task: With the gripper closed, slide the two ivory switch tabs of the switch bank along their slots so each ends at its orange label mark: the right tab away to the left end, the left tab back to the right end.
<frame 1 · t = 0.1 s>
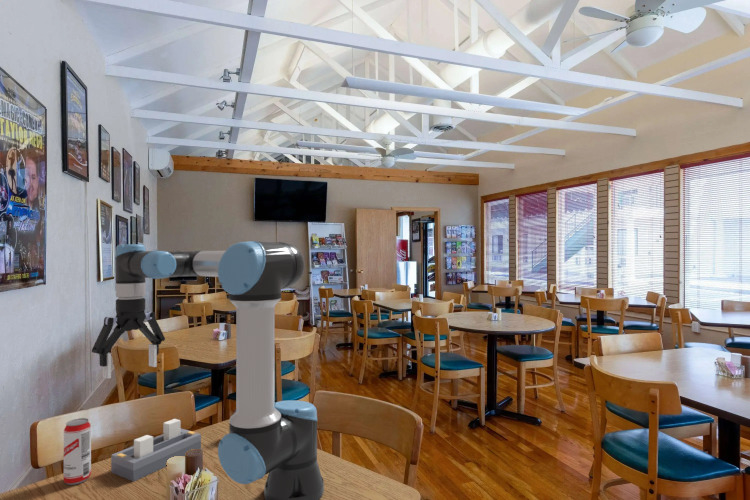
hand: (130, 371, 128), 28 cm above the table, tool pointing down, fingers open, 13 cm apart
tab A: (143, 448, 126), point 6 cm above the table, slide at 6.0 cm
tab B: (172, 431, 139), point 6 cm above the table, slide at -6.0 cm
switch bank: (158, 460, 133), on the table
beer can: (77, 480, 121), on the table
supplement bottle: (243, 437, 150), on the table
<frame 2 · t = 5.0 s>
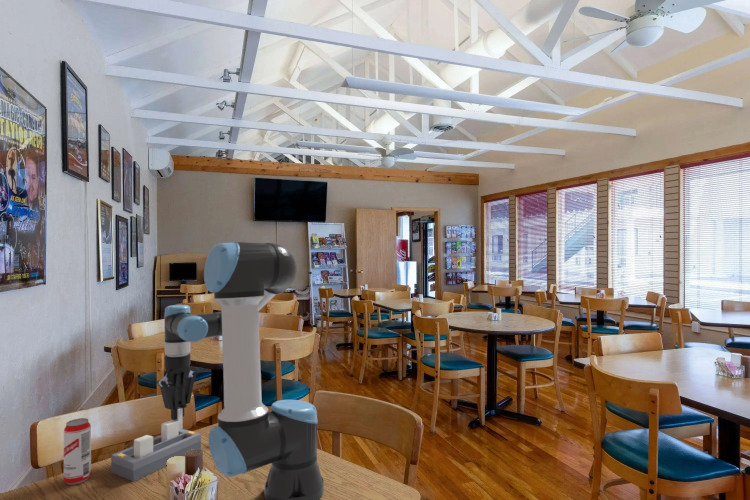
hand: (177, 428, 141), 6 cm above the table, tool pointing down, fingers closed
tab B: (170, 431, 138), point 6 cm above the table, slide at -5.3 cm, touching gripper
everything else where it was.
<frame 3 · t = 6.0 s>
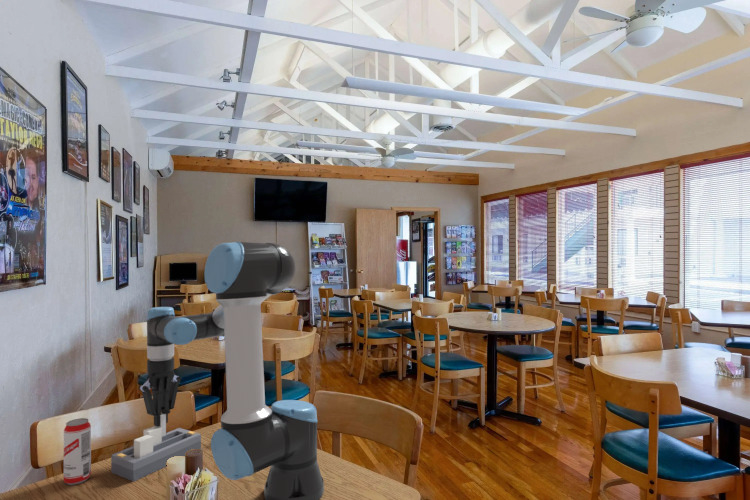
hand: (160, 435, 136), 6 cm above the table, tool pointing down, fingers closed
tab B: (152, 438, 133), point 6 cm above the table, slide at 0.6 cm, touching gripper
everything else where it was.
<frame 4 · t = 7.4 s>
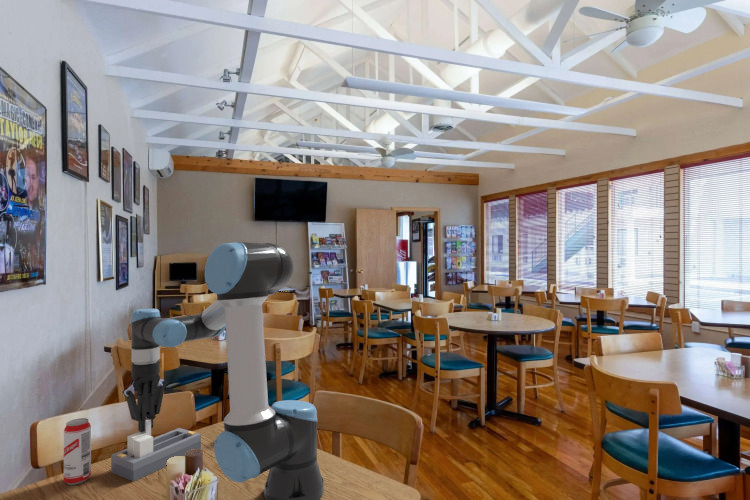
hand: (145, 441, 131), 6 cm above the table, tool pointing down, fingers closed
tab B: (137, 445, 129), point 6 cm above the table, slide at 5.4 cm, touching gripper
everything else where it was.
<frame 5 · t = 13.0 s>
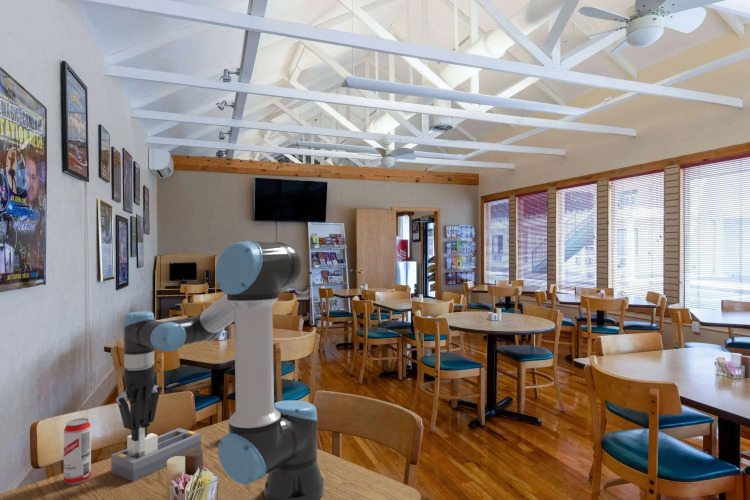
hand: (139, 450, 125), 6 cm above the table, tool pointing down, fingers closed
tab A: (148, 446, 128), point 6 cm above the table, slide at 4.6 cm, touching gripper
tab B: (136, 445, 129), point 6 cm above the table, slide at 5.5 cm
everything else where it was.
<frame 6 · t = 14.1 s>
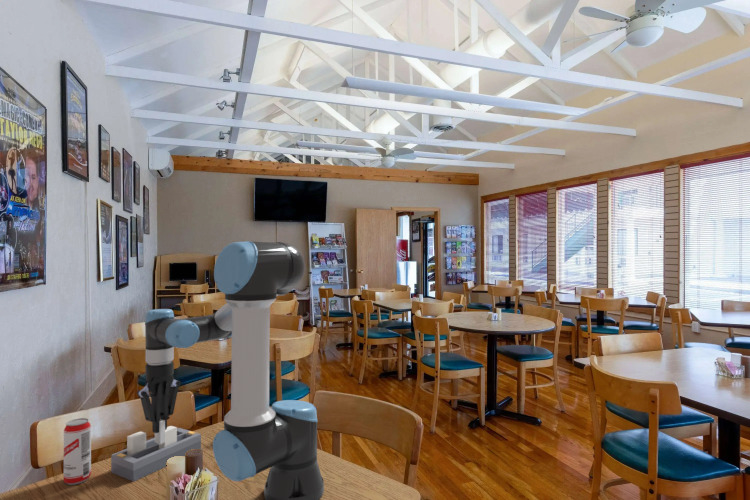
hand: (159, 442, 131), 6 cm above the table, tool pointing down, fingers closed
tab A: (167, 438, 133), point 6 cm above the table, slide at -1.7 cm, touching gripper
everything else where it was.
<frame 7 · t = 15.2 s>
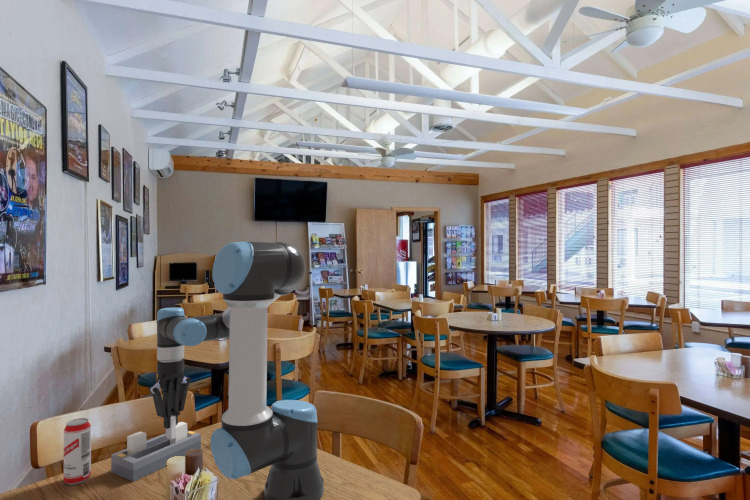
hand: (170, 437, 134), 6 cm above the table, tool pointing down, fingers closed
tab A: (178, 434, 136), point 6 cm above the table, slide at -5.4 cm, touching gripper
everything else where it was.
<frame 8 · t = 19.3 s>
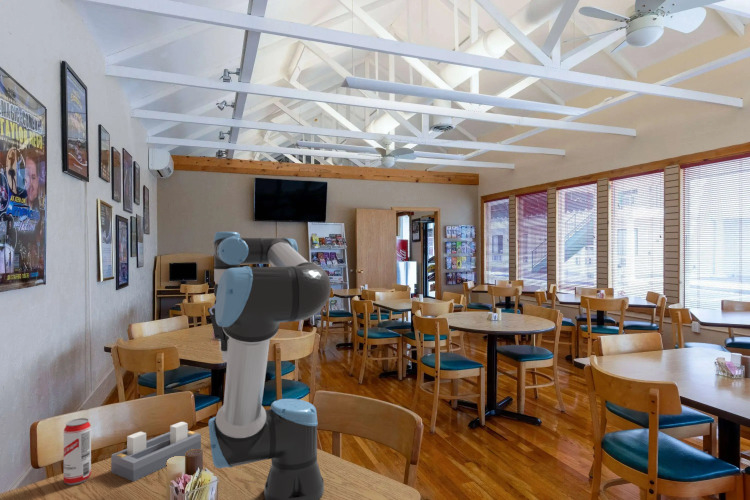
hand: (227, 361, 134), 29 cm above the table, tool pointing down, fingers closed
tab A: (178, 434, 136), point 6 cm above the table, slide at -5.5 cm
everything else where it was.
at the end: tab B slide at 5.5 cm; tab A slide at -5.5 cm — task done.
